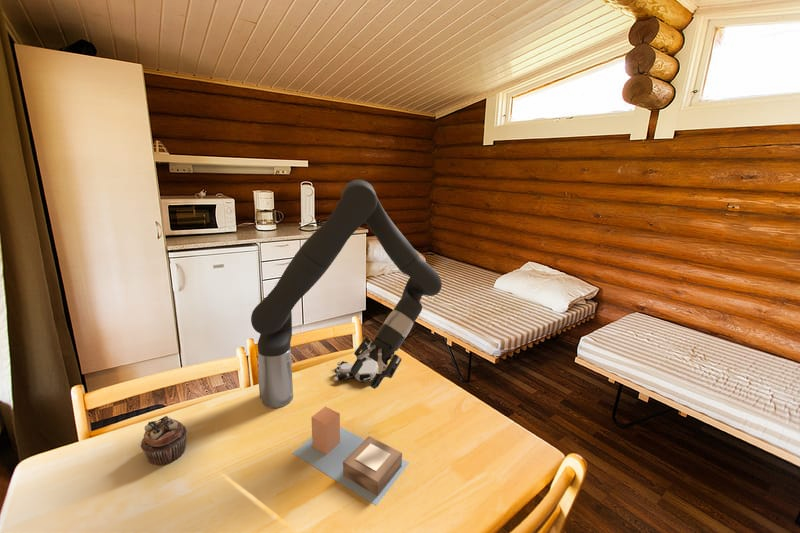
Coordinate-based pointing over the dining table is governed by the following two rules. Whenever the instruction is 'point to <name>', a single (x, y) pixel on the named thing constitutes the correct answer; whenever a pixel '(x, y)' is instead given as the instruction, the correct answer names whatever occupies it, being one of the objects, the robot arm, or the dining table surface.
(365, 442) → the walnut foundation
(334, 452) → the board
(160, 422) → the cupcake
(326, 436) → the terracotta block
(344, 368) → the robot toy
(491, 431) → the dining table surface
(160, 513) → the dining table surface
